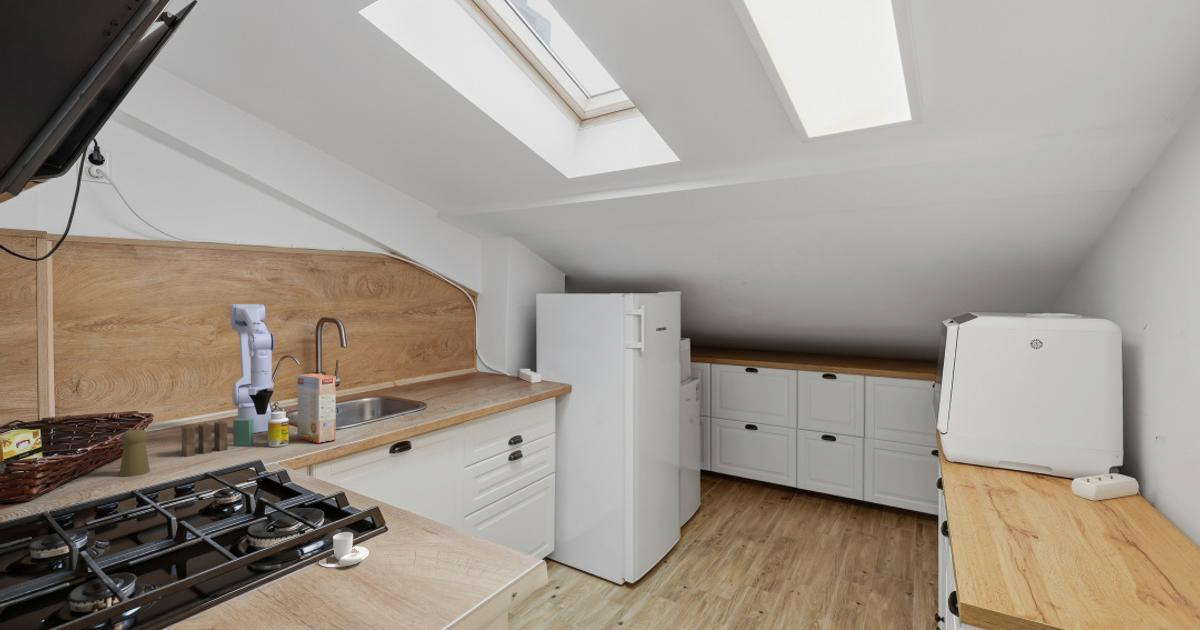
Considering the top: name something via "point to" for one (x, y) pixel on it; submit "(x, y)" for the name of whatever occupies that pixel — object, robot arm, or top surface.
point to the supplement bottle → (278, 429)
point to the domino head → (243, 432)
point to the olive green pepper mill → (134, 454)
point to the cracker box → (316, 407)
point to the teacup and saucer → (345, 551)
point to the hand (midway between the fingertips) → (261, 414)
